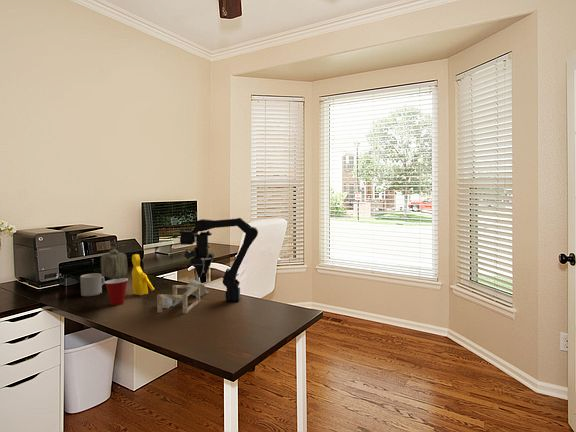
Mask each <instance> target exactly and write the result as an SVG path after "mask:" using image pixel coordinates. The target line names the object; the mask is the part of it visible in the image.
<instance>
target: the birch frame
mask: <svg viewBox="0 0 576 432" xmlns="http://www.w3.org/2000/svg"><path fill="white" fill-rule="evenodd" d="M192 287H195V288H194V289H192V290H191V291H189V292H188V293H187V294H185V295H182V294H178V289H187V288H192ZM194 291H196V296H195V301H194V302H193V303H191V304H190V305H188V297H190V295H191V294H192V293H193V292H194ZM162 297H164V298H172V303H175V302H176V301H177V300H178V299H179V298H183V300H182V314H188V312H190V311H191V310H192V309H193V308H194V307H195V306H196V305H197V304H198V303H200V302H201V296H200V286H187V285H181V284H180V285H176V284H173V285H172V294H162V293H161V294H160V293H158V294H157V295H156V302H157V303H156V305H157V308H156V310H157V313H158V314H159V313H160V314H162V312H163V308H162Z"/></svg>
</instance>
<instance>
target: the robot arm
mask: <svg viewBox="0 0 576 432" xmlns="http://www.w3.org/2000/svg"><path fill="white" fill-rule="evenodd" d="M230 227H237V228H239V229H240V230H241V231H242V232H243V233H244V234H245V235H244V239H243V242H242V244H241V247H240V248H239V251H238V252H237V255H236V257H235V259H234V261H233V263H232V264H231V267H230V268H226V270H225V271H224V274H223V276H222V284H223V285H224V286H225V288H226V291H225V302H226V303H239V302H240V301H241V299H242V297H241V287H239V286H240V284H241V282H240V281H239V280H238V279H237V275H238V272H239V268H240V266H241V264H242V263H243V260H244V259H245V257H246V255H247V253H248V251H249V248H250V246H251V245H252V243H253V242H254V241H255V240H256V238H257V237H258V234H259V230H258V228H256V227H255V226H252V225H250V224H249V223H247V222H246V221H245V220H244V219H243V218H241V217H238V218H229V219H228V218H227V219H217V220H216V219H215V220H214V219H205V218H201V219H198V220H197V221H195V223H194V227H193V229H192V230H191V231H190V230H189V231H186V230H181V233H180V237H179V242H180V245H182V246H183V245H184V246H185V245H187V246H189V245H191V246H192V245H194V243H195V247H194V249H193V250H191V251H190V250H186V251H184V254H183V255H184V258H185V259H186V260H189V265H190V266H193V268H194V269H195V272H196V275H197V277H198V279H199V278H202V275H203V272H204V274H208V272H209V269H210V267H211V264H212V262H213V261H214V259H215V255H214V253H213V252H209V248H210V245H209V236H212V235H213V234H212V232H210V230H211V229H216V228H217V229H218V228H219V229H220V228H230ZM199 232H200V233H199Z"/></svg>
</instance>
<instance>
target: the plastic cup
mask: <svg viewBox="0 0 576 432" xmlns="http://www.w3.org/2000/svg"><path fill="white" fill-rule="evenodd" d="M128 281H129V278H127V277H126V278H125V277H123V278H115V279H113V280H111V279H108V280H105V282H104V285H105V288H106V291H107V295H108V299H109V304H110V305H111V306H113V305H115V306H120V305H123V304H124V303H125V298H126V292H127V291H126V290H127V285H128Z"/></svg>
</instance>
